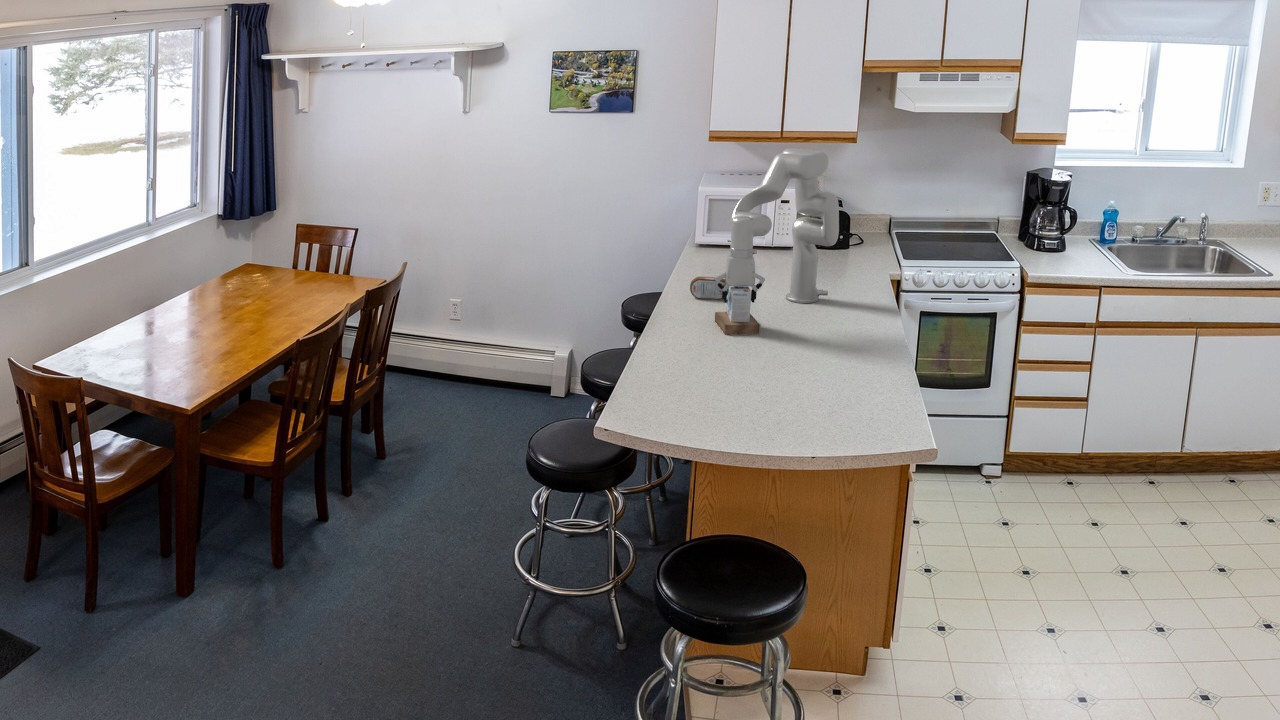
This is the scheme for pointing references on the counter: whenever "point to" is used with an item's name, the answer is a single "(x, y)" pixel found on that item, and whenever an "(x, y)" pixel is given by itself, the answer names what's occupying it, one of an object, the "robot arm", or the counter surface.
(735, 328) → the walnut block
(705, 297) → the tin
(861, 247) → the counter surface
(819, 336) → the counter surface
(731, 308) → the light bulb box
